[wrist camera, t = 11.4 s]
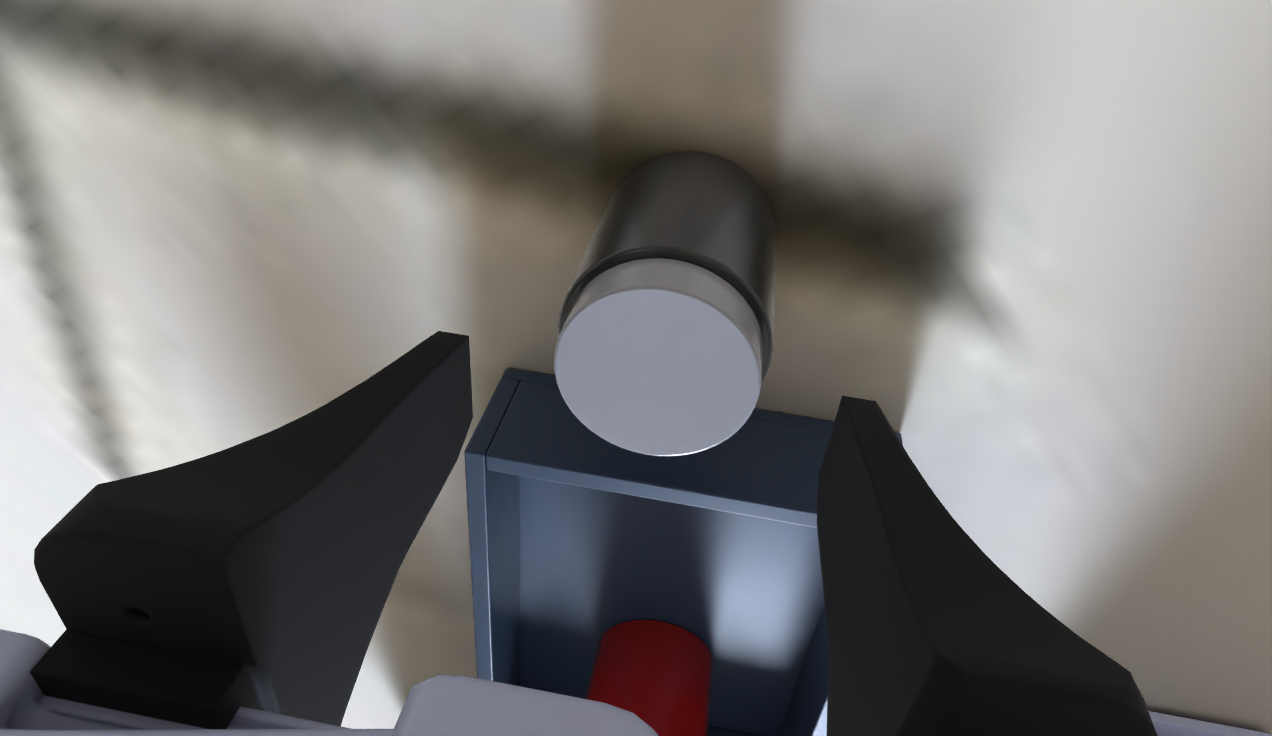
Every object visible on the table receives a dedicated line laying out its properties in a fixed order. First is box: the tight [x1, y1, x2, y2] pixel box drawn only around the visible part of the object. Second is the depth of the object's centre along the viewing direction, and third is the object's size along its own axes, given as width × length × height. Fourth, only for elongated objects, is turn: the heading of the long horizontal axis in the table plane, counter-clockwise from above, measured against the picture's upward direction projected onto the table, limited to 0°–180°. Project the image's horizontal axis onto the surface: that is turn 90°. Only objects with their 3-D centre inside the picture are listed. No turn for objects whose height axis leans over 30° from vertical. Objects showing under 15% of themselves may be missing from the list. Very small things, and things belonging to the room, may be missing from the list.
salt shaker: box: [585, 619, 713, 736], centre depth 29 cm, size 5×5×7 cm
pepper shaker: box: [554, 152, 777, 456], centre depth 19 cm, size 5×5×7 cm
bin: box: [464, 368, 903, 736], centre depth 28 cm, size 12×17×4 cm
